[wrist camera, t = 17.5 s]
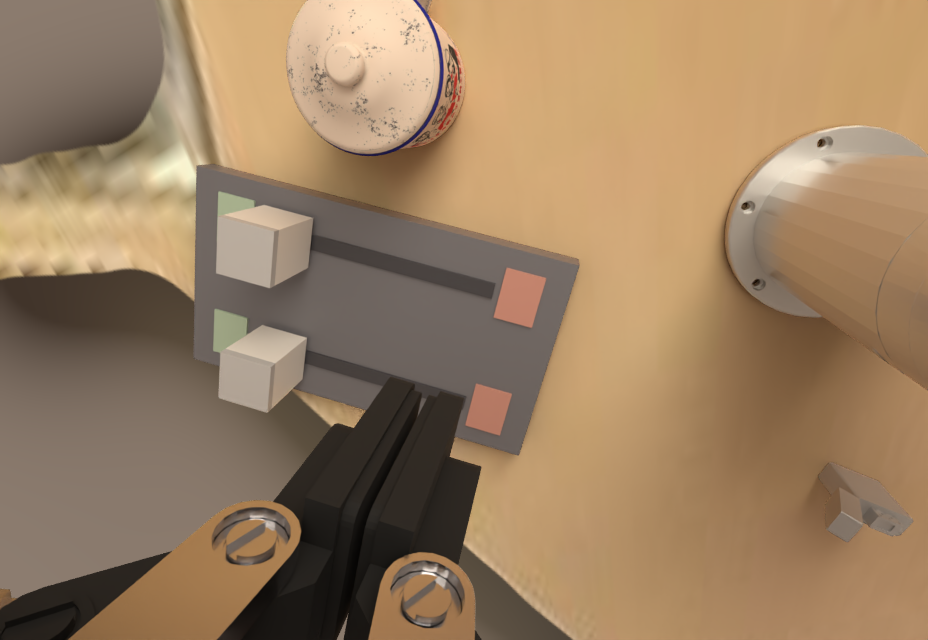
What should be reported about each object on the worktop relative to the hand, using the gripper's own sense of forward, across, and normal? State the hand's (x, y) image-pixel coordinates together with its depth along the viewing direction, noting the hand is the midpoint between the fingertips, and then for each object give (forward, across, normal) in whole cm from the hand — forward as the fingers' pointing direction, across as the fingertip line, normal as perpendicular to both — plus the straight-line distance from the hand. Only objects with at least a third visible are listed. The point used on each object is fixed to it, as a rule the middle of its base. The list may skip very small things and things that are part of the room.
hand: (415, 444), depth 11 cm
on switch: (+27, +17, +5) cm, 32 cm away
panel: (+29, +10, +10) cm, 32 cm away
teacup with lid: (+29, +10, -9) cm, 32 cm away
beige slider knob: (+27, +16, +15) cm, 35 cm away
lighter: (+29, -29, +13) cm, 43 cm away
